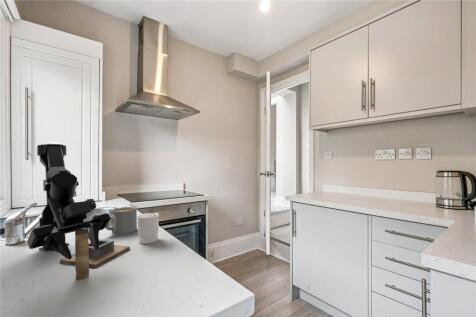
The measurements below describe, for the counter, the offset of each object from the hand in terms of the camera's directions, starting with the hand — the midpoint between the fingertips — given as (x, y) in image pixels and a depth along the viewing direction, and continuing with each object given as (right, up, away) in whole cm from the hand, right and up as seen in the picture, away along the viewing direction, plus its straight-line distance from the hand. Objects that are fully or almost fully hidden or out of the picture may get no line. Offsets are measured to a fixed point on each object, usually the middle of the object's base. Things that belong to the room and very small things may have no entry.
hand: (84, 253), depth 61 cm
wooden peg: (-1, -7, +1) cm, 7 cm away
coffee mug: (-10, -7, +39) cm, 40 cm away
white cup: (+6, -7, +28) cm, 29 cm away
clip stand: (-6, -7, +14) cm, 17 cm away
